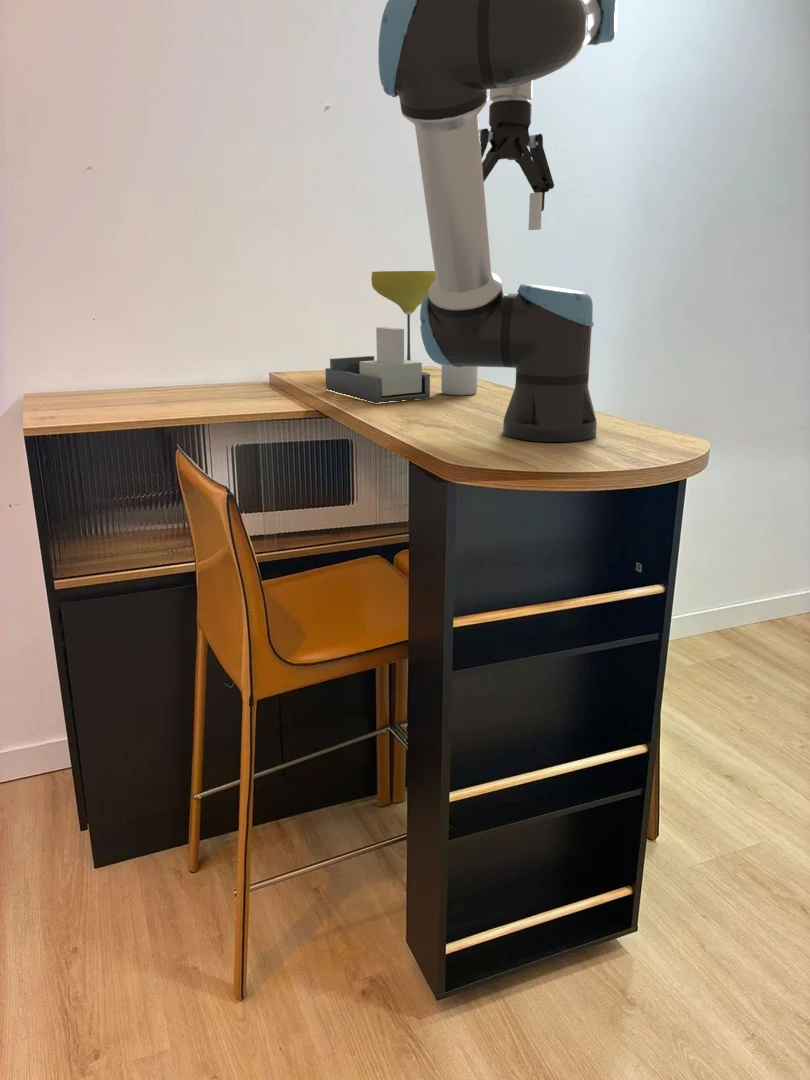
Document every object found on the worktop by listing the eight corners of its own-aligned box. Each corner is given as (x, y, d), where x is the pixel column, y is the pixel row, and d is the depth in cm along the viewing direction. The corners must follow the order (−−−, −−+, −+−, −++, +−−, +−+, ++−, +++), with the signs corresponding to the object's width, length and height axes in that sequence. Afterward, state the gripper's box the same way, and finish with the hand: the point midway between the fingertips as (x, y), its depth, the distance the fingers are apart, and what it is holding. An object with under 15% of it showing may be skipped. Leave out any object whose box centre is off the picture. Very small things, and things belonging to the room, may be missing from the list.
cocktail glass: (457, 373, 210) (458, 271, 202) (420, 381, 196) (421, 271, 188) (397, 369, 220) (397, 271, 212) (359, 377, 205) (356, 271, 197)
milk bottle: (478, 396, 174) (480, 298, 168) (441, 396, 175) (442, 298, 168) (475, 390, 182) (477, 296, 175) (440, 390, 182) (441, 296, 176)
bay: (429, 398, 171) (429, 364, 169) (375, 404, 165) (375, 369, 162) (376, 386, 189) (376, 355, 187) (326, 391, 182) (325, 359, 180)
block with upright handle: (421, 392, 170) (421, 328, 166) (381, 396, 165) (380, 330, 161) (398, 386, 177) (398, 325, 173) (360, 390, 173) (358, 327, 169)
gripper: (549, 111, 156) (544, 231, 162) (441, 98, 143) (440, 228, 150) (577, 105, 150) (570, 229, 156) (466, 91, 137) (464, 227, 144)
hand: (506, 229), depth 153 cm, fingers open, 13 cm apart
